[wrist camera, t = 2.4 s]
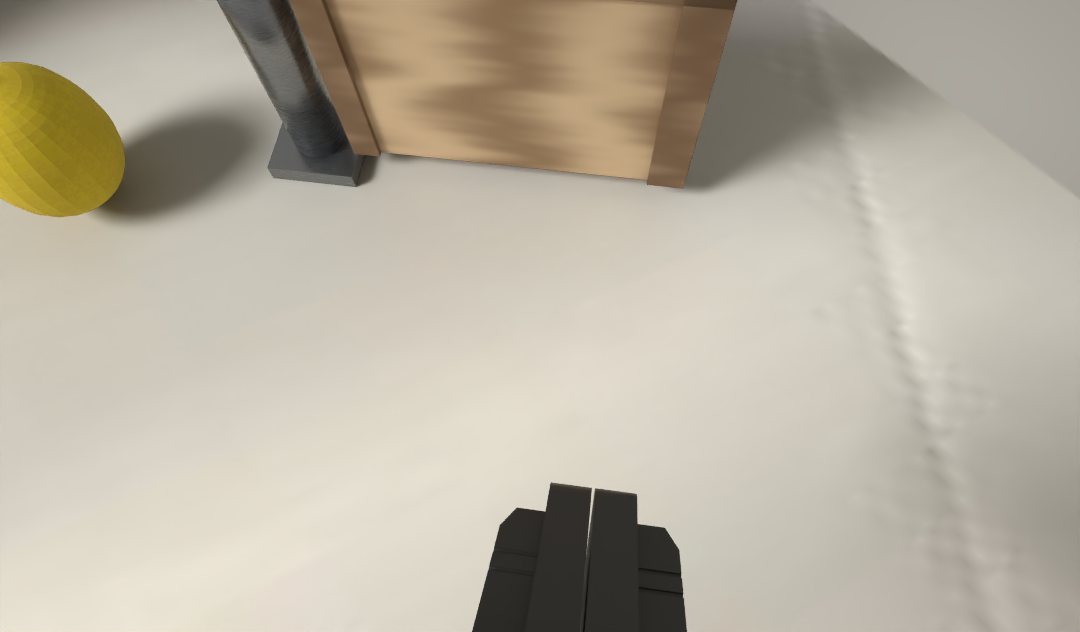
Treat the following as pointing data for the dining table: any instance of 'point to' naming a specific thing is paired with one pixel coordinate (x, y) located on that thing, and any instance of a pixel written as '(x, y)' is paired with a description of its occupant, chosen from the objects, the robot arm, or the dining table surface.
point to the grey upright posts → (294, 94)
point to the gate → (523, 79)
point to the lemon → (54, 144)
